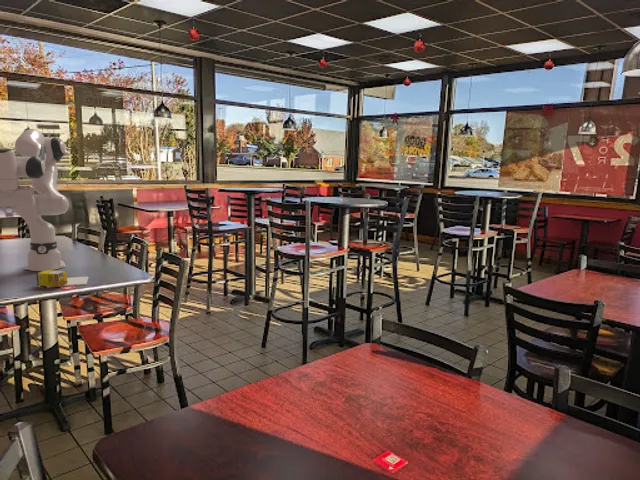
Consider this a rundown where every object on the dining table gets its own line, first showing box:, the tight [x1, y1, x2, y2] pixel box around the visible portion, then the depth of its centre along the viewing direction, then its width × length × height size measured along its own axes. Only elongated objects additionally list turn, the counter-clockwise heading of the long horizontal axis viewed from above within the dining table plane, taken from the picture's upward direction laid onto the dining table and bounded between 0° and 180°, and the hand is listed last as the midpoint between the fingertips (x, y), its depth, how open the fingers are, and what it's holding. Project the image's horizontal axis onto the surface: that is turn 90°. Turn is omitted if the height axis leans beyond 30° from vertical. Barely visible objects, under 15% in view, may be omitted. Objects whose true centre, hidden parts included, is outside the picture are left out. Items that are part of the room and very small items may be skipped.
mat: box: [46, 276, 89, 288], centre depth 221 cm, size 14×16×1 cm
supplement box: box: [35, 270, 68, 288], centre depth 214 cm, size 6×6×11 cm
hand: (9, 216), depth 211 cm, fingers closed
